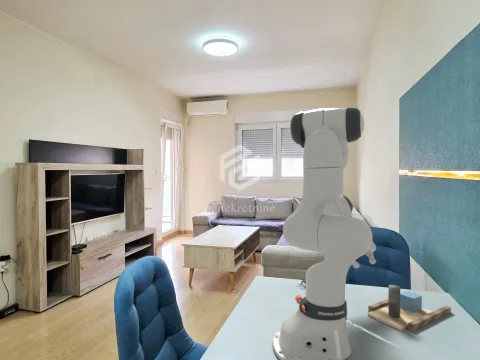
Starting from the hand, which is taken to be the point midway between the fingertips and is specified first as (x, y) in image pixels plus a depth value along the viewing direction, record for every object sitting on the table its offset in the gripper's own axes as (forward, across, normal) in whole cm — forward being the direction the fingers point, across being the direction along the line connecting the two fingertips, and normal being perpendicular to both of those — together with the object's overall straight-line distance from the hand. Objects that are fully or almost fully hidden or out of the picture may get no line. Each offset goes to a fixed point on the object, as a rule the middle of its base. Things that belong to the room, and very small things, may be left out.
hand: (366, 265), depth 111 cm
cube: (+18, +10, +2) cm, 21 cm away
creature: (-8, -4, +32) cm, 33 cm away
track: (+19, +9, +4) cm, 22 cm away
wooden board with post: (+19, +4, +3) cm, 19 cm away
